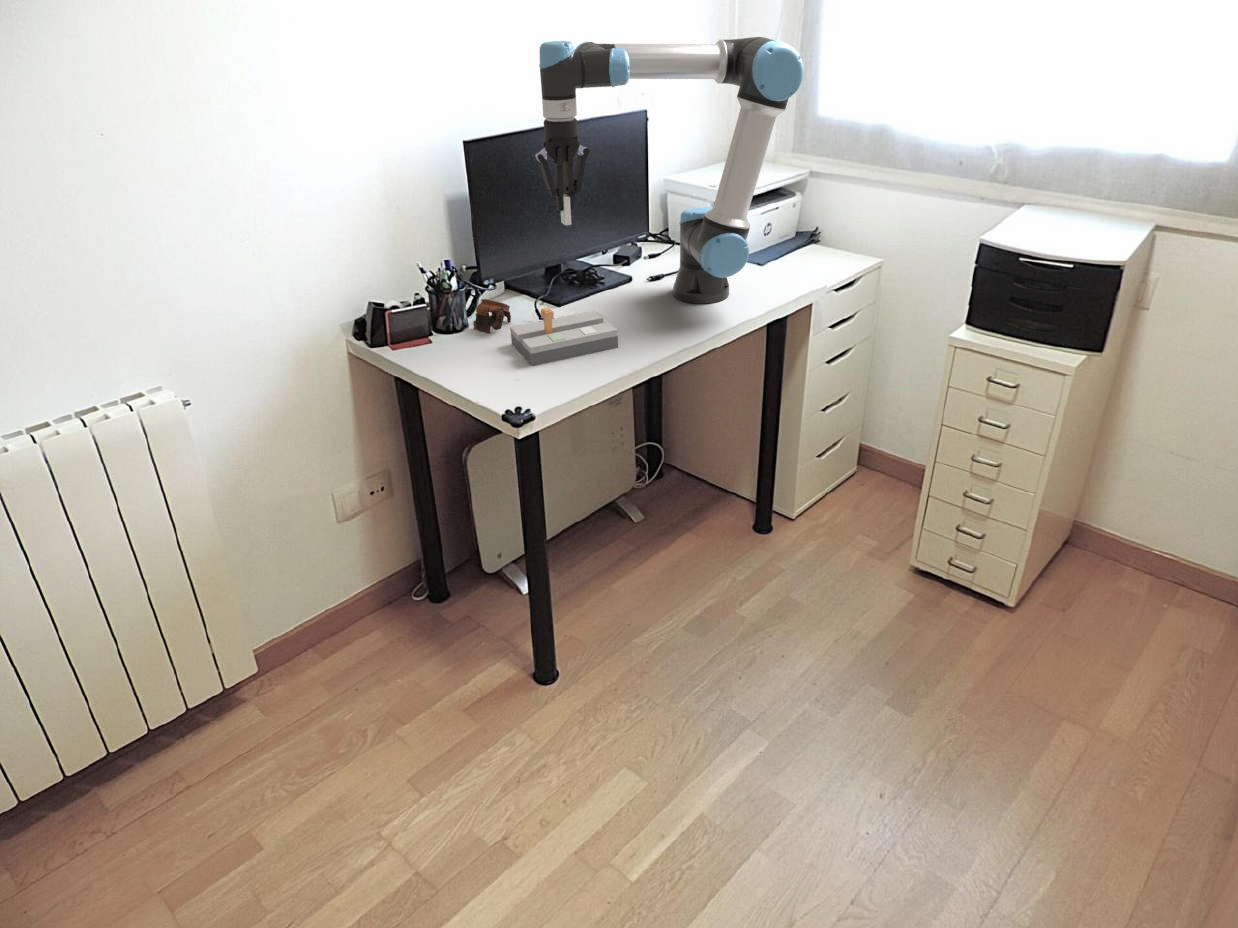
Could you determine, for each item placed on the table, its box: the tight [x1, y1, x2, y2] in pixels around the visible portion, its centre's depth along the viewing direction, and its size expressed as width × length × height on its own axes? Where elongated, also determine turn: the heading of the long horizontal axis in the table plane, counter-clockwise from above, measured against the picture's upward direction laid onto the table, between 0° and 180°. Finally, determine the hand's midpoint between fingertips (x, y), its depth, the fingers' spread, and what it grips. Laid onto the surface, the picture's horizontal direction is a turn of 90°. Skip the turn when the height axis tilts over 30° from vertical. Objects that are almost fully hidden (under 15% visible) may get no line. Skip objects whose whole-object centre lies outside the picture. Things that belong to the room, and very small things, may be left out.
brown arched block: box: [472, 298, 512, 334], centre depth 225 cm, size 12×10×8 cm
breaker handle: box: [540, 307, 554, 335], centre depth 210 cm, size 2×3×7 cm, turn 25°
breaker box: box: [509, 310, 619, 367], centre depth 214 cm, size 22×14×5 cm, turn 115°
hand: (566, 223), depth 211 cm, fingers closed
